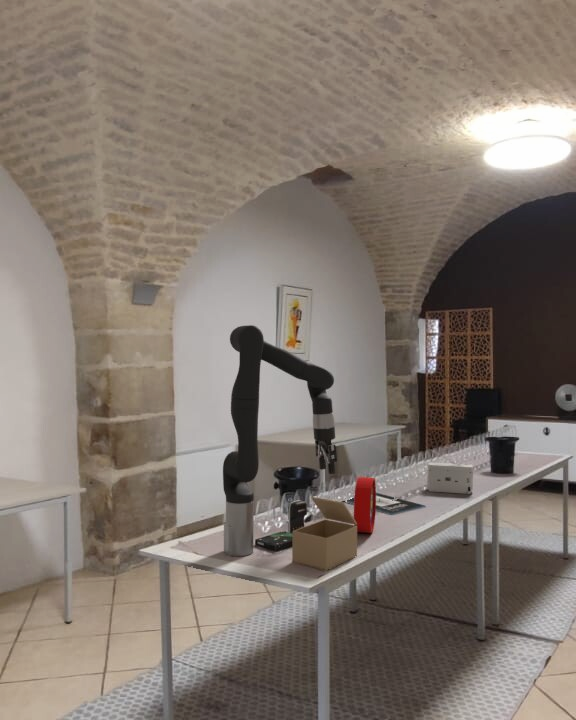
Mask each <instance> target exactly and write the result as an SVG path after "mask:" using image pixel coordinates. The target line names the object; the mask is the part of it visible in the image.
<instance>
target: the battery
mask: <svg viewBox="0 0 576 720" xmlns="http://www.w3.org/2000/svg"><path fill="white" fill-rule="evenodd" d="M287 510H288V511H287V513H288V514H287V515H288V516H287V518H288V519H287V520H288V522H287V523H288V528H287V529H288V531H287V532H289V533H292V534H293V531H294V530H297V529H299V528H302V527H305V523H304V522H305V517H306V516H308V505H307V502H306V501H303V500H300V499H299V500H298V499H297V500H293V501H290V503H289V504H288V509H287Z"/></svg>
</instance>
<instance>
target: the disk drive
mask: <svg viewBox="0 0 576 720" xmlns="http://www.w3.org/2000/svg"><path fill="white" fill-rule="evenodd" d="M254 540H255V541H254V543H255V544H254V546H255V547H259V548H262V549H265V550H268V551H271V552H275V553H277V552H280V551H282V550H286V549H289V548H292V542H293V533H289V532H288V531H286V530H284V531H279V532H276V533H273V534H269V535H266V536H262V537H259V538H255V539H254Z"/></svg>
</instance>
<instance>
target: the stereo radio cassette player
mask: <svg viewBox="0 0 576 720" xmlns="http://www.w3.org/2000/svg"><path fill="white" fill-rule="evenodd" d="M430 450H431V452H433V449H430ZM434 453H435V454H437V455H439V456H440V457H443V458H444V459H446V460H447V461H449V462H435V461H434V462H432V461H430V462H428V463H427V490H428V491H429V492H430V493H432V492H436V493H452V494H463V495H464V494H466V495H470V494H471V493H472V492H473V489H474V487H473V486H474V465H473V464H471V463H469V464H468V463H467V464H466V463H457V462H455V461H454V460H451V459H449V458H447V457H446V456H445V455H443V454H441V453H438V452H436V451H434ZM450 462H451V463H450Z"/></svg>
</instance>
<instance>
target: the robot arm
mask: <svg viewBox="0 0 576 720" xmlns="http://www.w3.org/2000/svg"><path fill="white" fill-rule="evenodd" d="M229 342H230V345H231V347H232V348H233V349H234V350H235V351H237V352H238V353H239V364H238V365H239V367H238V371H237V375H236V377H235V381H234V382H233V386H232V390H231V396H230V416H231V419H232V423H233V425H234V428H235V430H236V434H237V445H238V446H237V450H234V451H231V452H229V453H228V454H227V455H226V456H225V457H224V460H223V462H222V463H223V464H222V481H223V482H222V483H223V484H222V485H223V487H222V488H223V492H224V494H225V522H223V551H224V552H225V554H226V555H227V556H234V557H238V556H239V557H243V556H249V555H251V554H253V553H254V514H255V511H254V507H255V505H254V504H255V499H254V497H255V496H254V495H255V494H254V491H253V490H252V489H251V488H250V487H249V484H248V483H250V482H252V481H254V479H256V477H257V475H258V472H259V468H260V467H259V465H260V462H259V446H258V441H259V440H258V439H259V438H258V435H259V434H258V431H259V429H258V428H259V410H260V409H259V408H260V382H261V381H260V379H261V378H260V377H261V364H262V363H261V362H262V361H264V362H266V363H268V364H269V365H271V366H273V367H276V368H277V369H278V370H281V371H283V372H285V373H286V374H288V375H290V376H292V377H293V378H296V379H297V380H302V381H305V382H306V385H307V390H308V393H309V397H310V399H311V400H310V401H311V402H312V403H311V404H312V405H311V407H312V428H313V439H314V443H315V444H314V445H315V447H314V449H315V456H316V457H317V459H318V466H319V469H320V470H322V471H323V470H326V468H327V471H328V474H329V475H332V474H333V475H334V474H336V470H335V469H336V468H335V463H336V462H338V456H337V455H338V454H337V445H336V444H335V443H334V444H333V442H332V440H335V439H336V429H335V417H334V410H333V401H332V397H330V396H329V395H328V394H327V390H329V389H330V388H332V387H333V385H334V383H335V378H334V376H333V374H332V372H330V371H329V370H328V369H326V368H325V367H321V366H320V365H317V364H315V363H312V362H309V361H308V360H306V359H304V358H302V357H301V356H299V355H297V354H295V353H293V352H291V351H288V350H286V349H283V348H280V347H278V346H276V345H273V344H271V343H269V342H268V341H266V340H264V334H263V332H262V330H261V329H260V327H258V326H256V325H254V324H253V325H252V324H251V325H248V324H247V325H241V326H237V327H236V328H234V329H233V330H232V331H231V333H230V335H229ZM326 460H327V465H326Z"/></svg>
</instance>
